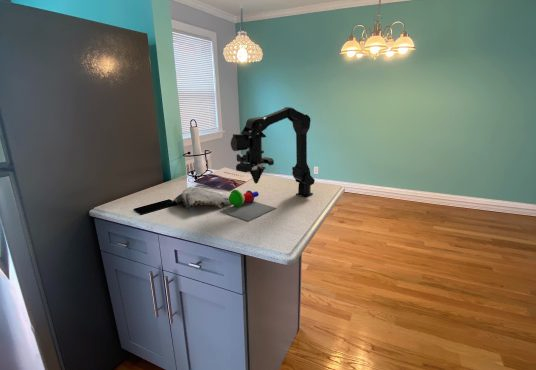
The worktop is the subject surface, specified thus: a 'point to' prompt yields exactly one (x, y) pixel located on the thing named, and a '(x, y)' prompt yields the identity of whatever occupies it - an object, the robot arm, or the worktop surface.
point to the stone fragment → (202, 198)
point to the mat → (248, 210)
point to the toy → (241, 197)
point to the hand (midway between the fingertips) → (256, 183)
